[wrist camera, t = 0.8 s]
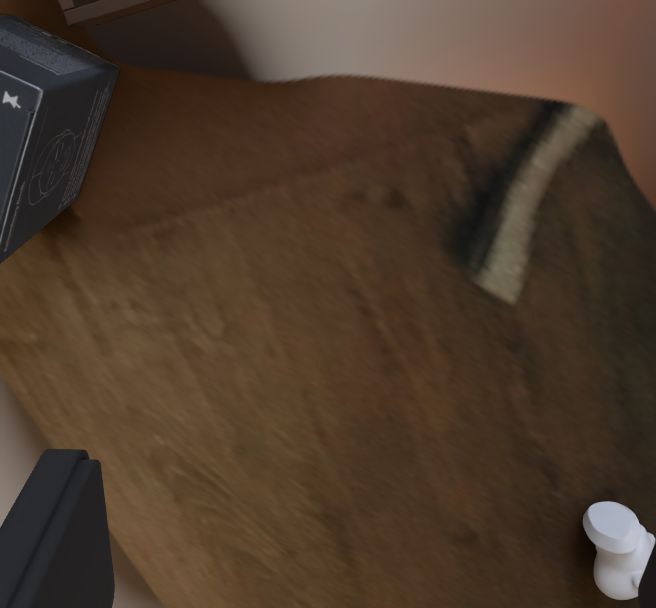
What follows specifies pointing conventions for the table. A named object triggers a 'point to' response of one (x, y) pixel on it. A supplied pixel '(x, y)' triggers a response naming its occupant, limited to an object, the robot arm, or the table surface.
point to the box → (45, 125)
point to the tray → (103, 10)
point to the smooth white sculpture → (617, 548)
